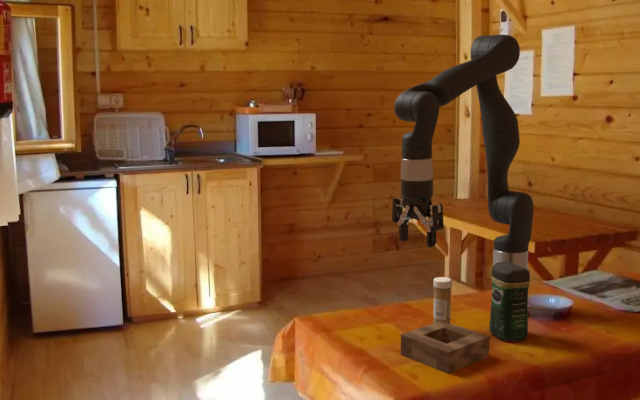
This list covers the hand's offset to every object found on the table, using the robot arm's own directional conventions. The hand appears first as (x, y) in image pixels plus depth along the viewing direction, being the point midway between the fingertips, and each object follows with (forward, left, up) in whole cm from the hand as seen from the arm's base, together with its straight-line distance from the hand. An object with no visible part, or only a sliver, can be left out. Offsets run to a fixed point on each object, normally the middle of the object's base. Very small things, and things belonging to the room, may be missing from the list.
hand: (417, 243), depth 174 cm
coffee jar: (-20, +12, -25) cm, 35 cm away
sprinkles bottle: (-11, -2, -25) cm, 27 cm away
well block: (+2, +10, -25) cm, 27 cm away
